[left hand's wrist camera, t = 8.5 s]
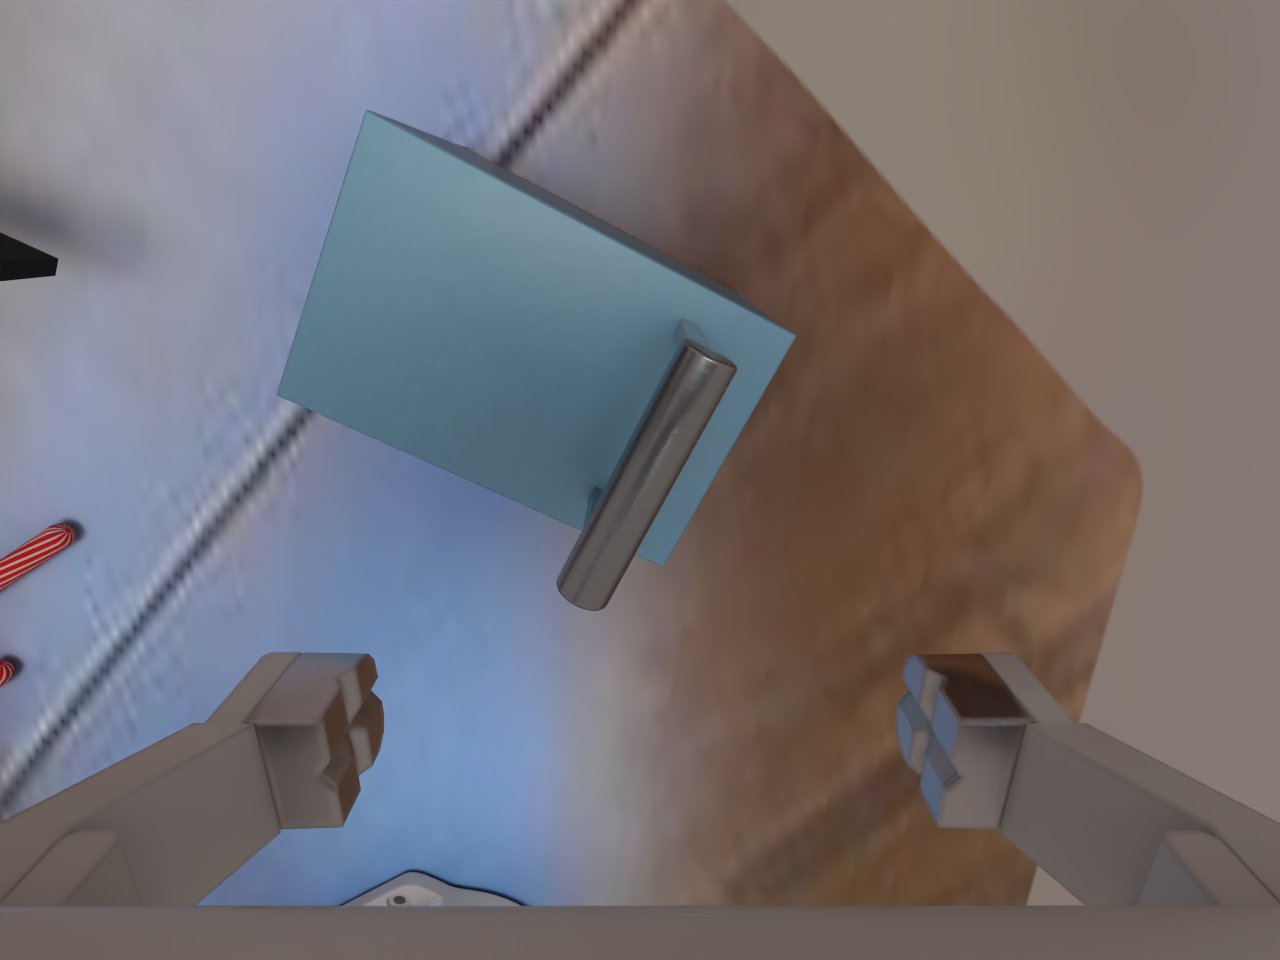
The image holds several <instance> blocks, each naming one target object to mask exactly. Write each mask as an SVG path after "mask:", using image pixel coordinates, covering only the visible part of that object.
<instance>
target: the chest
mask: <svg viewBox="0 0 1280 960" xmlns="http://www.w3.org/2000/svg"><path fill="white" fill-rule="evenodd" d="M384 117H385V116H384ZM386 118H387V117H386ZM388 119H390V118H388ZM390 120H391V121H393V122H395V123H397V124H399V125H401V126H403V127H405V128H407V129H409V130H411V131H412V132H414V133H416V134H418V135H420V136H422V137H424V138H426V139H428V140H430V141H431V142H433V143H435V144H437V145H439V146H441V147H443V148H445V149H447V150H449V151H450V152H452V153H454V154H456V155H458V156H460V157H462V158H464V159H466V160H468V161H469V162H471V163H473V164H475V165H477V166H479V167H481V168H483V169H485V170H487V171H488V172H490V173H492V174H494V175H496V176H498V177H500V178H502V179H504V180H506V181H507V182H509V183H511V184H513V185H515V186H517V187H519V188H521V189H523V190H525V191H526V192H528V193H530V194H532V195H534V196H536V197H538V198H540V199H542V200H544V201H546V202H547V203H549V204H551V205H553V206H555V207H557V208H559V209H561V210H563V211H565V212H566V213H568V214H570V215H572V216H574V217H576V218H578V219H580V220H582V221H584V222H585V223H587V224H589V225H591V226H593V227H595V228H597V229H599V230H601V231H603V232H604V233H606V234H608V235H610V236H612V237H614V238H616V239H618V240H620V241H622V242H623V243H625V244H627V245H629V246H631V247H633V248H635V249H637V250H639V251H641V252H642V253H644V254H646V255H648V256H650V257H652V258H654V259H656V260H658V261H660V262H661V263H663V264H665V265H667V266H669V267H671V268H673V269H675V270H677V271H679V272H681V273H682V274H684V275H686V276H688V277H690V278H692V279H694V280H696V281H698V282H700V283H701V284H703V285H705V286H707V287H709V288H711V289H713V290H715V291H717V292H719V293H720V294H722V295H724V296H726V297H728V298H730V299H732V300H734V301H736V302H738V303H739V304H741V305H743V306H745V307H747V308H749V309H751V310H753V311H755V312H757V313H758V314H760V315H762V316H764V317H766V318H768V319H770V320H772V319H771V318H769V317H768V316H767V315H765V314H764V313H763V312H762V311H760V310H759V309H758V308H756V307H755V306H754V305H753V304H751V303H750V302H749V301H748V300H746V299H745V298H744V297H742V296H741V295H740V294H739V293H738V292H737V291H735V290H733V289H731V288H729V287H728V286H726V285H724V284H722V283H720V282H718V281H716V280H714V279H712V278H711V277H709V276H707V275H705V274H703V273H701V272H699V271H697V270H695V269H694V268H692V267H690V266H688V265H686V264H684V263H682V262H680V261H678V260H677V259H675V258H673V257H671V256H669V255H667V254H665V253H663V252H661V251H660V250H658V249H656V248H654V247H652V246H650V245H648V244H646V243H644V242H642V241H641V240H639V239H637V238H635V237H633V236H631V235H629V234H627V233H625V232H624V231H622V230H620V229H618V228H616V227H614V226H612V225H610V224H608V223H607V222H605V221H603V220H601V219H599V218H597V217H595V216H593V215H591V214H590V213H588V212H586V211H584V210H582V209H580V208H578V207H576V206H574V205H573V204H571V203H569V202H567V201H565V200H563V199H561V198H559V197H557V196H556V195H554V194H552V193H550V192H548V191H546V190H544V189H542V188H540V187H538V186H537V185H535V184H533V183H531V182H529V181H527V180H525V179H523V178H521V177H520V176H518V175H516V174H514V173H512V172H510V171H508V170H506V169H504V168H503V167H501V166H499V165H497V164H495V163H493V162H491V161H489V160H487V159H486V158H484V157H482V156H480V155H478V154H476V153H474V152H472V151H470V150H469V149H467V148H465V147H463V146H460V145H457V144H454V143H452V142H449V141H446V140H444V139H441V138H439V137H436V136H434V135H431V134H428V133H426V132H423V131H421V130H418V129H416V128H413V127H411V126H408V125H405V124H403V123H400V122H398V121H395V120H393V119H390ZM772 321H773V320H772Z"/></svg>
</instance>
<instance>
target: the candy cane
mask: <svg viewBox="0 0 1280 960" xmlns="http://www.w3.org/2000/svg"><path fill="white" fill-rule="evenodd" d="M74 539H75V532H74V530H73V528H72V527H70V526H68V525H66V524H55V525H52V526H50V527H48V528H47V529H46V530H44V531H43V532H41V533H40V534H38V535H37V536H35V537H34V538H32V539H31V540H29V541H28V542H26V543H25V544H23V545H22V546H20V547H19V548H17V549H16V550H14V551H13V552H11V553H10V554H8V555H7V556H6V557H4V558H3V559H1V560H0V591H1V590H2V589H4V588H5V587H7V586H8V585H10V584H11V583H13V582H14V581H16V580H17V579H19V578H20V577H22V576H23V575H25V574H26V573H28V572H29V571H31V570H32V569H34V568H35V567H37V566H38V565H40V564H41V563H43V562H44V561H46V560H47V559H49V558H51V557H52V556H53V555H55V554H56V553H58V552H60V551H61V550H62V549H64V548H65V547H67V546H69V545H70V544H71V543H72V542H73V541H74ZM13 673H14V666H13V664H12V663H10V662H8V661H4V660H1V661H0V687H2V686H3V685H4V684H5V683H6V682H7V681H8V680H9V679H10V678H11V676H12V675H13Z"/></svg>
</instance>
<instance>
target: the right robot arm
mask: <svg viewBox="0 0 1280 960" xmlns="http://www.w3.org/2000/svg"><path fill="white" fill-rule="evenodd" d="M57 263H58V258H55V257H53V256H51V255H49V254H47V253H44V252H42V251H40V250H38V249H35V248H33V247H31V246H29V245H27V244H24V243H22V242H20V241H18V240H15V239H13V238H11V237H9V236H7V235H4V234H2V233H0V281H7V280H17V279H27V278H36V277H46V276H55V274H56V269H57Z"/></svg>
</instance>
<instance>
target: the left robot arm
mask: <svg viewBox="0 0 1280 960" xmlns="http://www.w3.org/2000/svg"><path fill="white" fill-rule="evenodd" d="M377 678H378V675H377V671H376V666H375V661H374V659H373V658H372V657H371V656H370V655H369V654H352V653H306V652H305V653H300V652H272V653H269V654H266V655H263V657H262V658H261V659H260V660H259V661H258V662H257V663H256V664H255V666H254V667H253V668H252V669H251V670H250V671H249V672H248V674H247V675H246V676H245V677H244V678H243V679H242V681H241V682H240V683H239V684H238V685H237V686H236V687H235V689H234V690H233V691H232V692H231V693H230V694H229V695H228V697H227V698H226V699H225V700H224V701H223V702H222V704H221V705H220V706H219V707H218V708H217V709H216V710H215V712H214V713H213V714H212V715H211V716H210V717H209V718H208V720H207V721H206V722H205V723H193V724H191V725H189V726H187V727H185V728H184V729H182V730H180V731H178V732H176V733H174V734H172V735H170V736H168V737H166V738H164V739H162V740H160V741H158V742H156V743H154V744H152V745H151V746H149V747H147V748H145V749H143V750H141V751H139V752H137V753H135V754H133V755H131V756H129V757H127V758H125V759H123V760H121V761H119V762H117V763H116V764H114V765H112V766H110V767H108V768H106V769H104V770H102V771H100V772H98V773H96V774H94V775H92V776H90V777H88V778H86V779H84V780H82V781H81V782H79V783H77V784H75V785H73V786H71V787H69V788H67V789H65V790H63V791H61V792H59V793H57V794H55V795H53V796H51V797H49V798H47V799H46V800H44V801H42V802H40V803H38V804H36V805H34V806H32V807H30V808H28V809H26V810H24V811H22V812H20V813H18V814H16V815H14V816H12V817H11V818H9V819H7V820H5V821H3V822H1V823H0V960H1280V823H1279V822H1277V821H1275V820H1273V819H1271V818H1269V817H1267V816H1265V815H1263V814H1261V813H1259V812H1257V811H1255V810H1253V809H1252V808H1250V807H1248V806H1246V805H1244V804H1242V803H1240V802H1238V801H1236V800H1234V799H1232V798H1230V797H1228V796H1226V795H1224V794H1222V793H1220V792H1218V791H1217V790H1215V789H1213V788H1211V787H1209V786H1207V785H1205V784H1203V783H1201V782H1199V781H1197V780H1195V779H1193V778H1191V777H1189V776H1188V775H1186V774H1184V773H1182V772H1180V771H1178V770H1176V769H1174V768H1172V767H1170V766H1168V765H1166V764H1164V763H1162V762H1160V761H1158V760H1156V759H1155V758H1153V757H1151V756H1149V755H1147V754H1145V753H1143V752H1141V751H1139V750H1137V749H1135V748H1133V747H1131V746H1129V745H1127V744H1125V743H1124V742H1122V741H1120V740H1118V739H1116V738H1114V737H1112V736H1110V735H1108V734H1106V733H1104V732H1102V731H1100V730H1098V729H1096V728H1094V727H1092V726H1091V725H1089V724H1086V723H1075V722H1074V721H1073V720H1072V718H1071V717H1070V716H1069V715H1068V714H1067V713H1066V712H1065V710H1064V709H1063V708H1062V707H1061V706H1060V705H1059V704H1058V702H1057V701H1056V700H1055V699H1054V698H1053V697H1052V695H1051V694H1050V693H1049V692H1048V691H1047V690H1046V689H1045V687H1044V686H1043V685H1042V684H1041V683H1040V682H1039V681H1038V679H1037V678H1036V677H1035V676H1034V675H1033V674H1032V673H1031V671H1030V670H1029V669H1028V668H1027V667H1026V666H1025V664H1024V663H1023V662H1022V661H1021V660H1020V659H1019V658H1018V656H1016V655H1014V654H1012V653H1010V652H991V653H975V654H920V655H909V656H908V658H907V660H906V662H905V664H904V670H903V675H902V678H903V680H904V682H905V683H906V685H907V687H908V689H909V691H908V692H907V693H906V694H905V695H904V696H903V697H902V698H901V699H900V700H899V701H898V706H897V714H896V729H897V739H898V743H899V746H900V750H901V753H902V755H903V757H904V759H905V761H906V764H907V766H909V767H910V768H911V769H913V770H914V771H915V772H917V773H918V774H920V775H921V782H920V788H919V790H920V792H921V794H922V796H923V798H924V800H925V802H926V804H927V806H928V808H929V810H930V812H931V814H932V816H933V818H934V820H935V822H936V825H937V827H943V828H978V829H1000V831H999V832H1000V833H1001V834H1002V835H1003V836H1004V837H1006V838H1007V839H1008V840H1009V841H1010V842H1011V843H1013V844H1014V845H1015V846H1016V847H1017V848H1018V849H1020V850H1021V851H1022V852H1023V853H1024V854H1025V855H1027V856H1028V857H1029V858H1030V859H1031V860H1032V861H1034V862H1035V863H1036V864H1037V865H1038V866H1039V867H1041V868H1042V869H1043V870H1044V871H1045V872H1047V873H1048V874H1049V875H1050V876H1051V877H1052V878H1054V879H1055V880H1056V881H1057V882H1058V883H1059V884H1061V885H1062V886H1063V887H1064V888H1065V889H1066V890H1068V891H1069V892H1070V893H1071V894H1072V895H1073V896H1075V897H1076V898H1077V899H1078V900H1079V901H1080V902H1082V903H1083V904H1084V905H1085V906H521V905H519V904H517V903H515V902H513V901H511V900H508V899H506V898H503V897H500V896H497V895H494V894H490V893H486V892H481V891H474V890H468V889H461V888H456V887H453V886H449V885H447V884H445V883H443V882H441V881H439V880H437V879H435V878H432V877H430V876H428V875H425V874H422V873H417V872H408V873H405V874H403V875H401V876H399V877H397V878H395V879H393V880H391V881H389V882H387V883H385V884H383V885H381V886H379V887H377V888H375V889H373V890H372V891H370V892H368V893H366V894H364V895H362V896H360V897H358V898H356V899H354V900H352V901H350V902H348V903H346V904H344V905H343V906H195V905H196V904H197V903H199V902H200V901H201V900H202V899H203V898H204V897H206V896H207V895H208V894H209V893H210V892H212V891H213V890H214V889H215V888H216V887H217V886H219V885H220V884H221V883H222V882H223V881H224V880H226V879H227V878H228V877H229V876H230V875H231V874H233V873H234V872H235V871H236V870H237V869H238V868H240V867H241V866H242V865H243V864H244V863H245V862H247V861H248V860H249V859H250V858H251V857H252V856H254V855H255V854H256V853H257V852H258V851H260V850H261V849H262V848H263V847H264V846H265V845H267V844H268V843H269V842H270V841H271V840H272V839H274V838H275V837H276V836H277V835H278V834H279V833H280V832H281V831H280V829H301V828H335V827H343V825H344V823H345V821H346V819H347V817H348V815H349V813H350V811H351V809H352V806H353V804H354V802H355V800H356V798H357V796H358V794H359V792H360V790H361V788H360V782H359V775H360V774H362V773H363V772H365V771H366V770H367V769H369V768H370V767H371V766H373V764H374V761H375V759H376V757H377V755H378V753H379V751H380V746H381V741H382V737H383V732H384V712H383V705H382V701H381V700H380V699H379V698H378V697H377V696H376V695H375V694H374V693H373V692H372V691H371V689H372V687H373V685H374V683H375V682H376V680H377Z"/></svg>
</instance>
